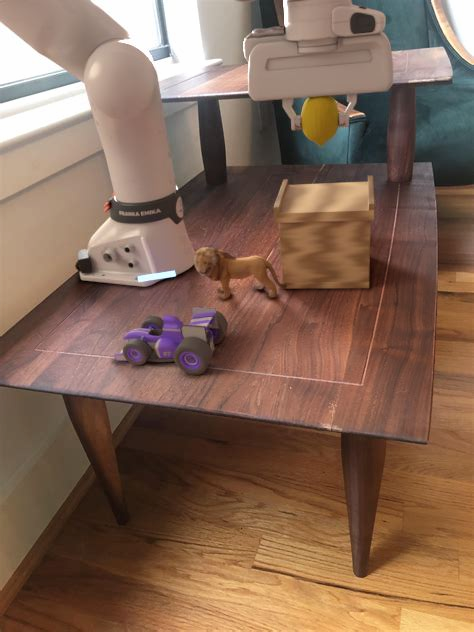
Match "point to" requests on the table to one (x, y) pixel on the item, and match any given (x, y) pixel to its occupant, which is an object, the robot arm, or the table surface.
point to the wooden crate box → (325, 234)
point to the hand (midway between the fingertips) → (320, 127)
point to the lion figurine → (234, 269)
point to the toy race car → (176, 340)
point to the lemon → (320, 119)
